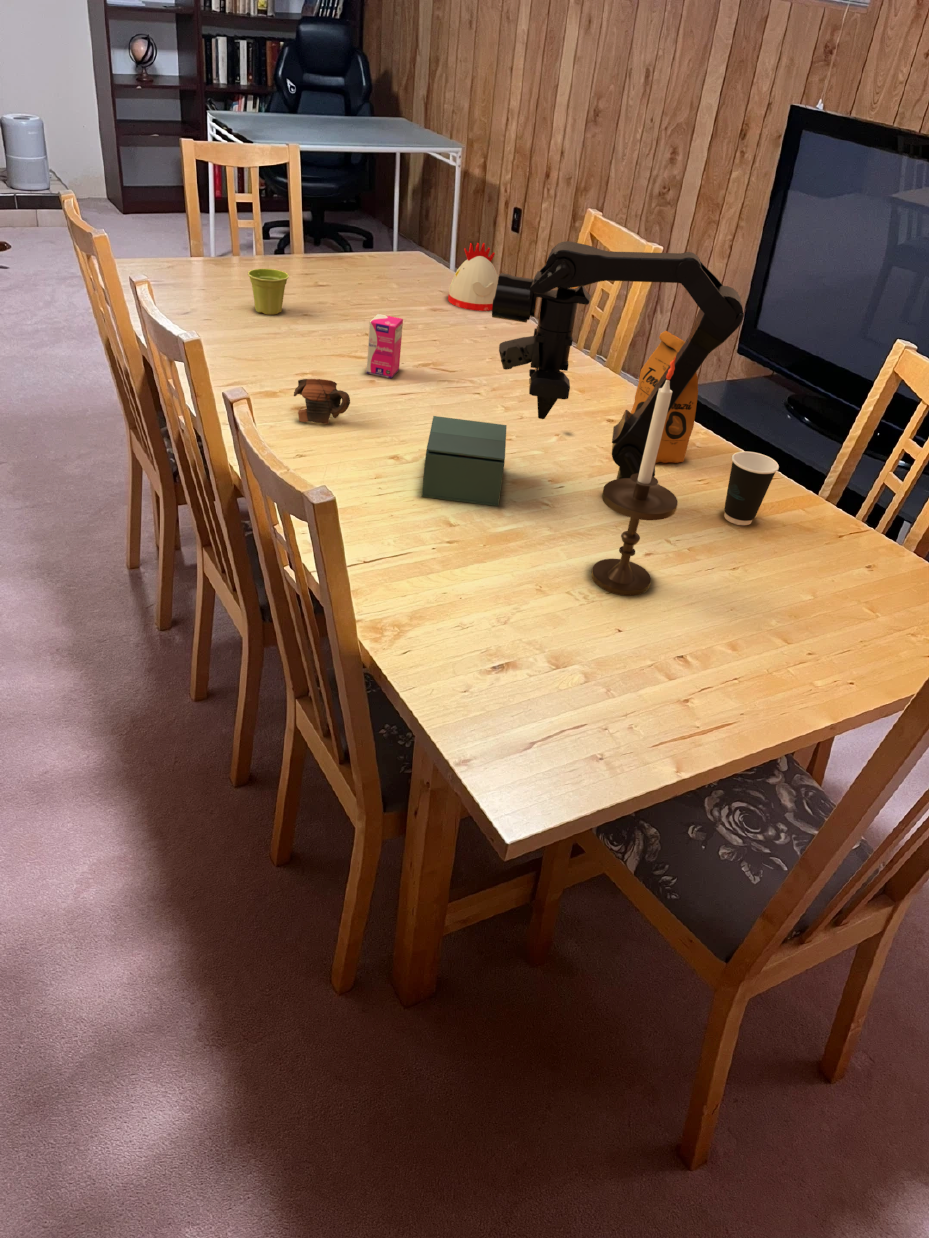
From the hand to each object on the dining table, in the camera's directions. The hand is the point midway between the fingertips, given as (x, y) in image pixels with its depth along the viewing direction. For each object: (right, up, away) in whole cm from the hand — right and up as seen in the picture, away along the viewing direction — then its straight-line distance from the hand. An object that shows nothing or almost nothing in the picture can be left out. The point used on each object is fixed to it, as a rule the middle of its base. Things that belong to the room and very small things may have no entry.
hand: (541, 418), depth 165 cm
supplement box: (-30, +19, +44) cm, 57 cm away
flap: (-12, -1, +4) cm, 13 cm away
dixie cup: (+35, -16, +6) cm, 39 cm away
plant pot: (-60, +39, +68) cm, 99 cm away
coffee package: (+24, -1, +26) cm, 35 cm away
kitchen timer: (-10, +49, +92) cm, 105 cm away
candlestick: (+11, -28, -15) cm, 34 cm away
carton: (-13, -10, +5) cm, 18 cm away
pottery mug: (-40, +5, +22) cm, 46 cm away
